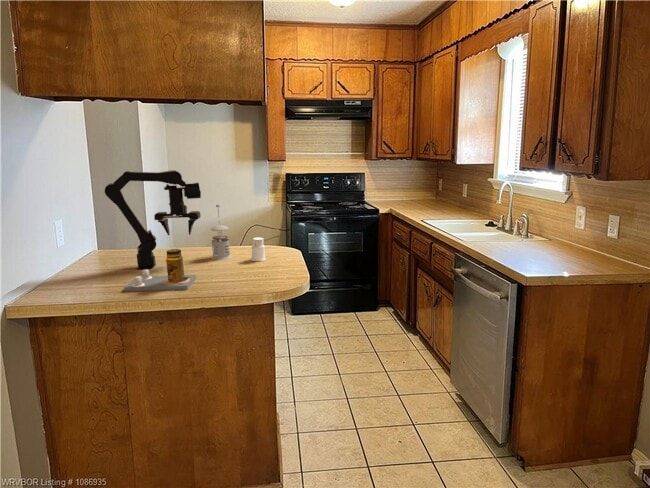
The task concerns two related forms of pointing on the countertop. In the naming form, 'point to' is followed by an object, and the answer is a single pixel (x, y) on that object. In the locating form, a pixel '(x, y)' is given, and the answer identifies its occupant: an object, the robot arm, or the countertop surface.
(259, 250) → the downlight
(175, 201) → the robot arm
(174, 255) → the condiment
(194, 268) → the countertop surface
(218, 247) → the french press
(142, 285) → the board
